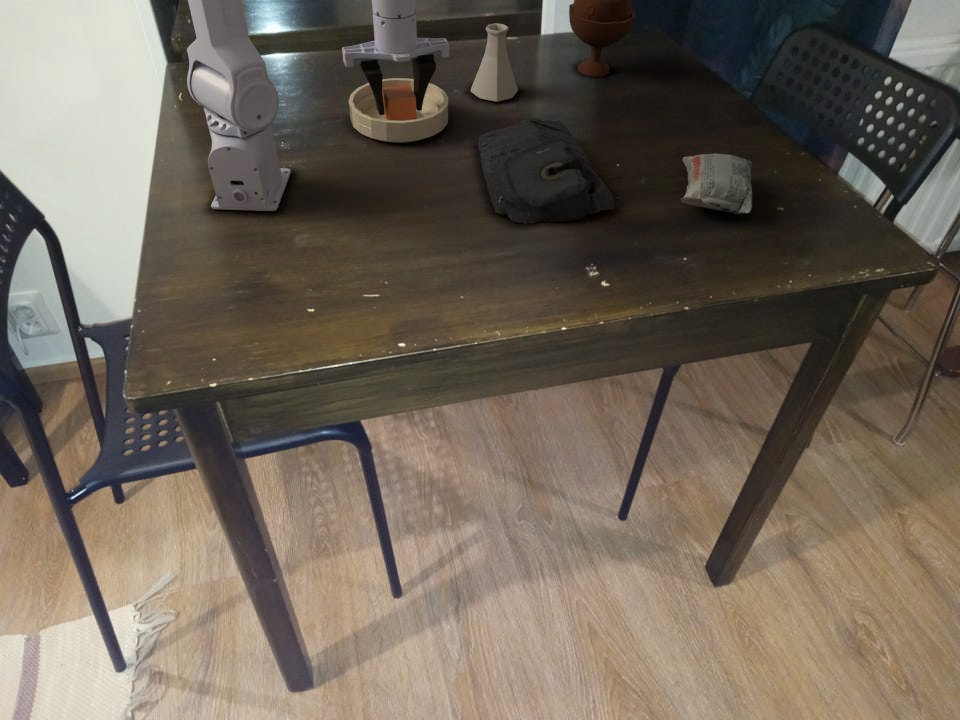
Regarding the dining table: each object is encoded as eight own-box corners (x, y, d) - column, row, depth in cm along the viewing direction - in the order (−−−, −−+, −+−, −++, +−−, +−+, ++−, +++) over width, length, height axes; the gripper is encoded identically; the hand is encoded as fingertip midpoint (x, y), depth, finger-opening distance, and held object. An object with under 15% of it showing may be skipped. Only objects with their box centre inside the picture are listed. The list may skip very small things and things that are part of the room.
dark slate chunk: (575, 134, 102) (579, 102, 99) (618, 219, 87) (625, 185, 83) (472, 138, 100) (472, 107, 97) (498, 227, 85) (500, 193, 81)
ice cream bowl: (623, 58, 122) (640, -36, 111) (626, 86, 114) (644, -13, 103) (562, 54, 122) (573, -41, 112) (561, 81, 114) (573, -18, 104)
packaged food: (676, 216, 87) (686, 182, 84) (679, 169, 96) (689, 136, 92) (746, 228, 86) (760, 194, 83) (744, 180, 94) (756, 147, 91)
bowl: (446, 147, 98) (446, 124, 95) (345, 144, 98) (342, 120, 95) (449, 102, 108) (450, 79, 105) (358, 99, 108) (356, 76, 105)
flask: (490, 78, 114) (493, 14, 107) (525, 92, 111) (531, 27, 104) (462, 92, 110) (463, 27, 103) (497, 107, 107) (501, 40, 100)
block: (416, 123, 102) (415, 96, 99) (389, 126, 101) (388, 99, 98) (410, 110, 104) (409, 84, 101) (384, 113, 103) (382, 87, 100)
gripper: (344, 26, 87) (355, 128, 97) (455, 17, 91) (454, 116, 101) (335, 7, 92) (346, 105, 102) (441, -1, 95) (441, 95, 105)
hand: (399, 109), depth 101 cm, fingers open, 5 cm apart
